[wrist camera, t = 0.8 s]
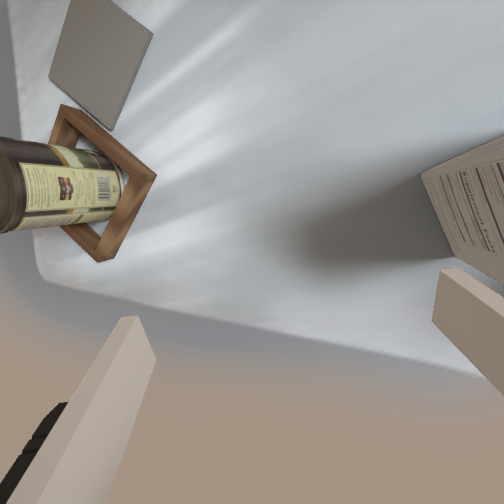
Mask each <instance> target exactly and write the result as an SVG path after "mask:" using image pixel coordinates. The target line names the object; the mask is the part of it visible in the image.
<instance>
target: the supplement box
mask: <svg viewBox="0 0 504 504" xmlns="http://www.w3.org/2000/svg"><path fill="white" fill-rule="evenodd" d="M420 176H421V179H422V181H423V184H424V186H425V188H426V191H427V193H428V196H429V198H430V201H431V203H432V205H433V208H434V210H435V212H436V215H437V217H438V219H439V222H440V224H441V226H442V229H443V231H444V233H445V235H446V238H447V240H448V242H449V245H450V247H451V249H452V251H453V254H454V256H455V257H457V258H459V259H461V260H462V261H464V262H466V263H468V264H469V265H471V266H473V267H475V268H476V269H478V270H480V271H481V272H483V273H485V274H486V275H488V276H490V277H492V278H493V279H495V280H497V281H499V282H500V283H502V284H504V135H503V136H501V137H499V138H497V139H494V140H492V141H490V142H488V143H485V144H483V145H481V146H479V147H476V148H474V149H472V150H470V151H468V152H465V153H463V154H461V155H459V156H457V157H454V158H452V159H450V160H448V161H446V162H444V163H441V164H439V165H437V166H435V167H433V168H431V169H429V170H426V171H424V172H423V173H421V175H420Z"/></svg>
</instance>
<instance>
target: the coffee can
mask: <svg viewBox="0 0 504 504" xmlns="http://www.w3.org/2000/svg"><path fill="white" fill-rule="evenodd" d="M124 189H125V185H124V180H123V176H122V173H121V171H120V169H119V167H118V166H117V164H116V163H115V162H114V161H113V160H112V159H111V158H110V157H109V156H107V155H106V154H105V153H103V152H100V151H90V150H83V149H76V148H70V147H63V146H57V145H50V144H44V143H37V142H31V141H25V140H19V139H12V138H6V137H0V234H1V233H6V232H8V231H17V230H25V229H34V228H42V227H51V226H59V225H68V224H76V223H85V222H94V221H107V220H110V219H111V216H112V214H113V212H114V210H115V208H116V206H117V204H118V202H119V200H120V198H121V195H122V193H123V191H124Z"/></svg>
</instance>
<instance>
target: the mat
mask: <svg viewBox="0 0 504 504" xmlns="http://www.w3.org/2000/svg"><path fill="white" fill-rule="evenodd" d="M152 36H153V33H152V32H150V31H149V30H148V29H147V28H145V27H144V26H143V25H141V24H140V23H139V22H137V21H136V20H135V19H133V18H132V17H131V16H129V15H128V14H127V13H125V12H124V11H123V10H121V9H120V8H119V7H118V6H116V5H115V4H114V3H112V2H111V1H110V0H71V2H70V5H69V9H68V12H67V15H66V19H65V22H64V25H63V29H62V32H61V35H60V39H59V42H58V45H57V49H56V52H55V56H54V59H53V62H52V66H51V69H50V72H49V76H48V77H49V78H50V79H51V80H52V81H54V82H55V83H56V84H57V85H58V86H59V87H61V88H62V89H63V90H64V91H65V92H66V93H68V94H69V95H70V96H71V97H72V98H73V99H75V100H76V101H77V102H78V103H79V104H80V105H82V106H83V107H84V108H85V109H86V110H87V111H89V112H90V113H91V114H92V115H93V116H94V117H96V118H97V119H98V120H99V121H100V122H101V123H103V124H104V125H105V126H106V127H107V128H108V129H110V130H113V129H114V127H115V124H116V122H117V120H118V117H119V115H120V112H121V110H122V108H123V105H124V103H125V100H126V98H127V96H128V93H129V91H130V88H131V86H132V84H133V81H134V79H135V77H136V74H137V72H138V69H139V67H140V65H141V62H142V60H143V57H144V55H145V53H146V50H147V48H148V45H149V43H150V41H151V38H152Z"/></svg>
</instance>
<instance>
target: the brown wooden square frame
mask: <svg viewBox="0 0 504 504" xmlns="http://www.w3.org/2000/svg"><path fill="white" fill-rule="evenodd" d="M80 133H82V134H84V135H85V136H86V137H87V138H88V139H89V140H90V141H92V142H93V143H94V144H95V145H96V146H97V147H98V148H100V149H101V150H102V151H103V152H104V153H105V154H106V155H107V156H109V157H110V158H111V159H112V160H113V161H114V162H115V163H117V164H118V165H119V166H120V167H121V168H122V169H123V170H125V171H126V172H127V173H128V174H129V175H130V176H131V177H130V179H129V181H128V183H127V185H126V187H125V189H124V191H123V193H122V195H121V198H120V200H119V202H118V204H117V206H116V208H115V210H114V212H113V214H112V216H111V219H110V221H109V223H108V225H107V227H106V229H105V231H104V233H103V235H102V237H100V236H99V235H98V234H97V233H96V232H95V231H94V230H92V229H91V228H90V227H89V226H88V225H87V224H86V223H76V224H68V225H59V226H60V227H61V228H62V229H63V230H64V231H65V232H66V233H67V234H68V235H69V236H70V237H71V238H72V239H73V240H74V241H75V242H76V243H78V244H79V245H80V246H81V247H82V248H83V249H84V250H85V251H86V252H87V253H88V254H89V255H90V256H91V257H92V258H93V259H94V260H95V261H96V262H97V263H98V262H102V261H106V260H109V259H113V258H114V257H115V255H116V253H117V251H118V250H119V248H120V246H121V244H122V242H123V240H124V238H125V236H126V234H127V232H128V230H129V228H130V226H131V224H132V222H133V221H134V219H135V217H136V215H137V213H138V211H139V209H140V207H141V205H142V203H143V201H144V199H145V197H146V195H147V194H148V192H149V190H150V188H151V186H152V184H153V182H154V180H155V178H156V176H157V175H156V174H155V173H154V172H153V171H152V170H151V169H149V168H148V167H147V166H146V165H145V164H144V163H142V162H141V161H140V160H139V159H138V158H137V157H135V156H134V155H133V154H132V153H131V152H130V151H128V150H127V149H126V148H125V147H124V146H123V145H121V144H120V143H119V142H118V141H117V140H116V139H114V138H113V137H112V136H111V135H110V134H109V133H107V132H106V131H105V130H104V129H103V128H102V127H100V126H99V125H98V124H97V123H96V122H95V121H94V120H92V119H91V118H90V117H89V116H88V115H87V114H85V113H84V112H83V111H82V110H79V109H76V108H73V107H69V106H66V105H63V104H61V105H60V108H59V111H58V115H57V118H56V121H55V124H54V127H53V130H52V133H51V136H50V139H49V142H48V144H50V145H57V146H63V147H70V148H75V146H76V143H77V141H78V138H79V135H80Z"/></svg>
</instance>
